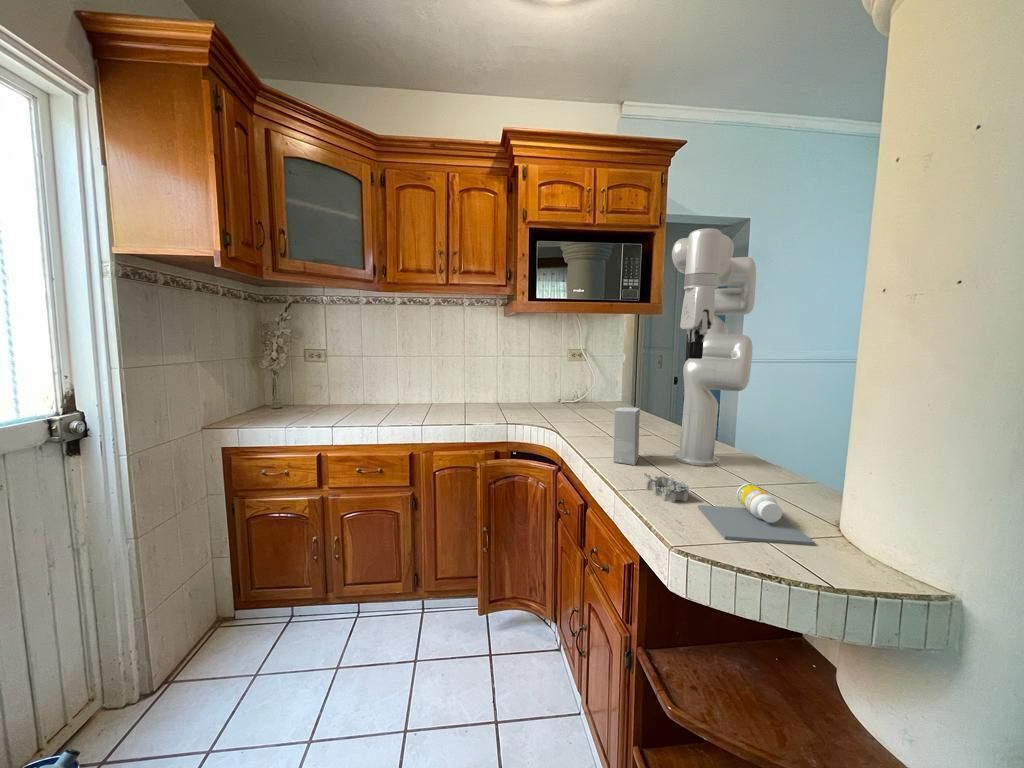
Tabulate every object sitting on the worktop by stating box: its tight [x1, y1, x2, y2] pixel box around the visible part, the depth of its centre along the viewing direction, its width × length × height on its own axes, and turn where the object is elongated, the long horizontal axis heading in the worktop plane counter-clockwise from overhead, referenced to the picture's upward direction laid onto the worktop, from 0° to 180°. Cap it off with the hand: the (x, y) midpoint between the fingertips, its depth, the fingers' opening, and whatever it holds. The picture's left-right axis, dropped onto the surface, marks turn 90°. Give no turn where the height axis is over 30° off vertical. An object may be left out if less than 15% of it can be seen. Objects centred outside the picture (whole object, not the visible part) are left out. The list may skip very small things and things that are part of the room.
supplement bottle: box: [736, 482, 783, 523], centre depth 86 cm, size 5×5×10 cm
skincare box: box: [612, 406, 641, 466], centre depth 122 cm, size 8×7×16 cm
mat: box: [697, 504, 816, 546], centre depth 83 cm, size 14×16×1 cm
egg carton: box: [643, 472, 692, 503], centre depth 98 cm, size 10×7×4 cm
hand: (694, 358), depth 102 cm, fingers closed
